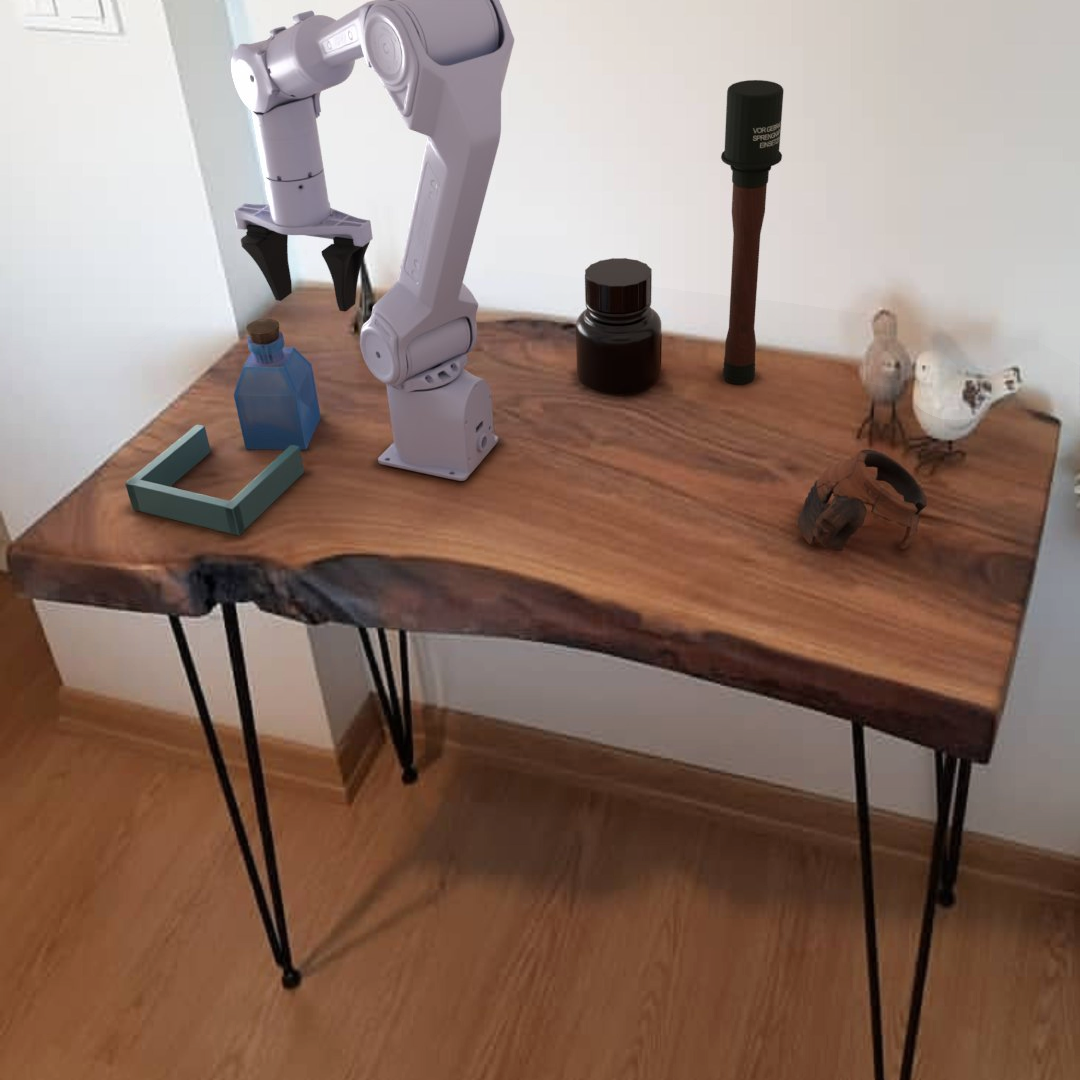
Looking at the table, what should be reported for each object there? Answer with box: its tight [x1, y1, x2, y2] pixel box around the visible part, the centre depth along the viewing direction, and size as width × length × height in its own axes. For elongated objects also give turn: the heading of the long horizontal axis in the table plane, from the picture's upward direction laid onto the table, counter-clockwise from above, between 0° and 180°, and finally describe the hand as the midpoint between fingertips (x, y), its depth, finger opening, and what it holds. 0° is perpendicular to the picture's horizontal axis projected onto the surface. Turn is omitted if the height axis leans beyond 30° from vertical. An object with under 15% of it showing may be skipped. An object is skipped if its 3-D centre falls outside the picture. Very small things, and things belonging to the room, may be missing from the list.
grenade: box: [720, 79, 784, 385], centre depth 121 cm, size 6×6×30 cm
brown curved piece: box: [797, 449, 928, 552], centre depth 104 cm, size 12×10×8 cm
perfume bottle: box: [233, 318, 322, 451], centre depth 121 cm, size 6×6×12 cm
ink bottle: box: [575, 257, 663, 396], centre depth 127 cm, size 10×9×12 cm
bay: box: [124, 424, 305, 536], centre depth 116 cm, size 12×11×3 cm
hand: (315, 301), depth 125 cm, fingers open, 7 cm apart
